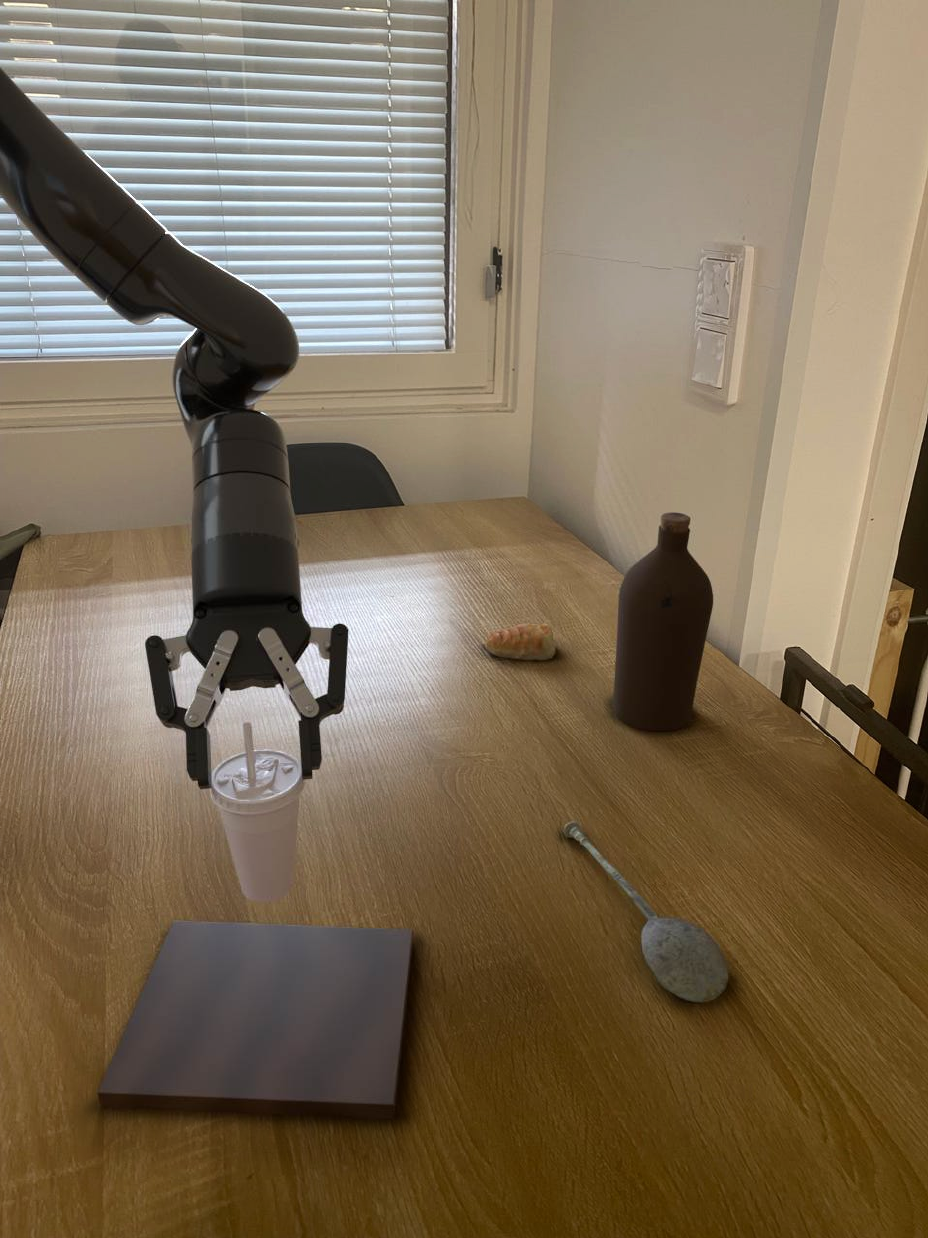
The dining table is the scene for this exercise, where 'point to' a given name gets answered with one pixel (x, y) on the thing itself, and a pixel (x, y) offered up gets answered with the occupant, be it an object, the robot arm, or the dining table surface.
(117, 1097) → the board
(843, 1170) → the dining table surface
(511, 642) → the pastry
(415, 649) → the dining table surface
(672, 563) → the olive oil
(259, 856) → the smoothie
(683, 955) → the soupspoon
